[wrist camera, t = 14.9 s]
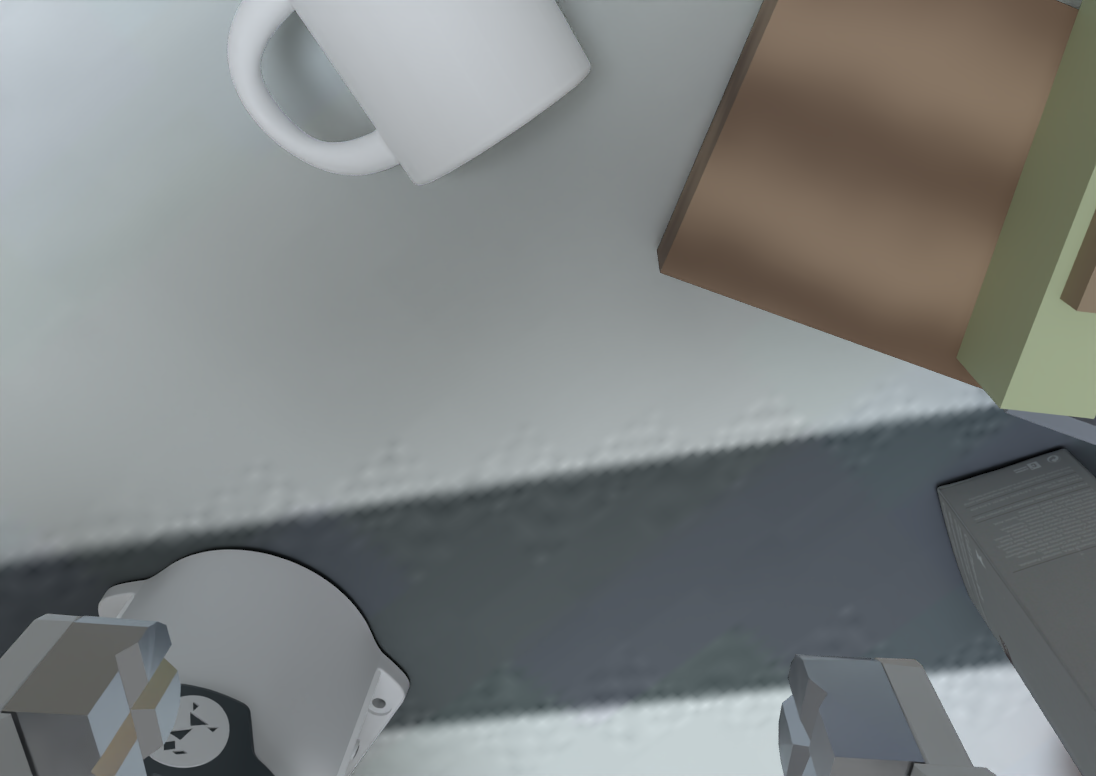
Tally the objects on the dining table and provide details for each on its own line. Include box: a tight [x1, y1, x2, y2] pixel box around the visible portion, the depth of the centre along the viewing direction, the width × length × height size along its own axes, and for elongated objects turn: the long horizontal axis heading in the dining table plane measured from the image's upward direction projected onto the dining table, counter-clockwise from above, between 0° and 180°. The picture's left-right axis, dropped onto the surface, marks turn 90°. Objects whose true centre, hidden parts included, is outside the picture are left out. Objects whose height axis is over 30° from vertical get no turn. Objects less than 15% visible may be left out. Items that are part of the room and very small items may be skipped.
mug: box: [227, 0, 591, 186], centre depth 30 cm, size 12×10×8 cm
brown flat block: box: [657, 0, 1079, 389], centre depth 33 cm, size 14×16×3 cm
